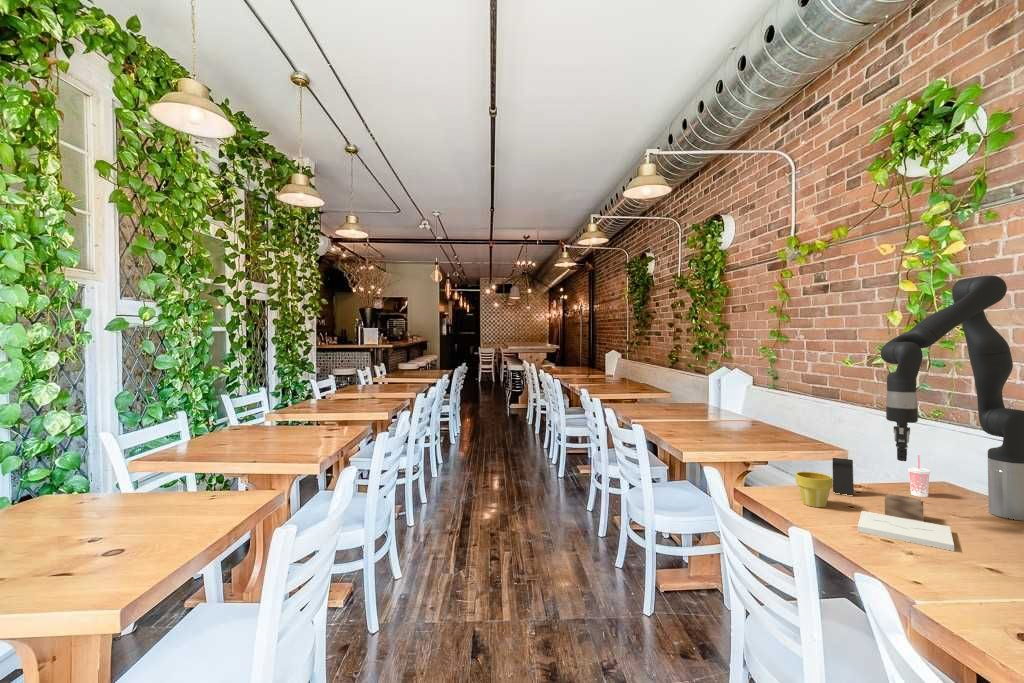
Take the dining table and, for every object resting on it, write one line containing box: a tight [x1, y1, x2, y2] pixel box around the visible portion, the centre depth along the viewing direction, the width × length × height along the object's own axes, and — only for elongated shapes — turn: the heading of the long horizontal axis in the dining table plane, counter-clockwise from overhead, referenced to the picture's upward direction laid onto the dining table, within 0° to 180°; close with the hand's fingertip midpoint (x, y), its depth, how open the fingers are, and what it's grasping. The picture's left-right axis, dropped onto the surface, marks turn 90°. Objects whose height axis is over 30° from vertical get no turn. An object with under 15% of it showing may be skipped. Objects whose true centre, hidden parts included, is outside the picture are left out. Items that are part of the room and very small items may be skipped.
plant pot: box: [795, 471, 833, 508], centre depth 155 cm, size 10×10×10 cm
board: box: [857, 510, 955, 552], centre depth 132 cm, size 20×16×2 cm
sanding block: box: [884, 493, 925, 522], centre depth 143 cm, size 9×6×6 cm, turn 49°
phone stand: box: [832, 457, 855, 496], centre depth 168 cm, size 9×6×12 cm, turn 146°
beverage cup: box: [907, 455, 931, 498], centre depth 164 cm, size 6×6×14 cm
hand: (902, 458), depth 144 cm, fingers open, 8 cm apart
